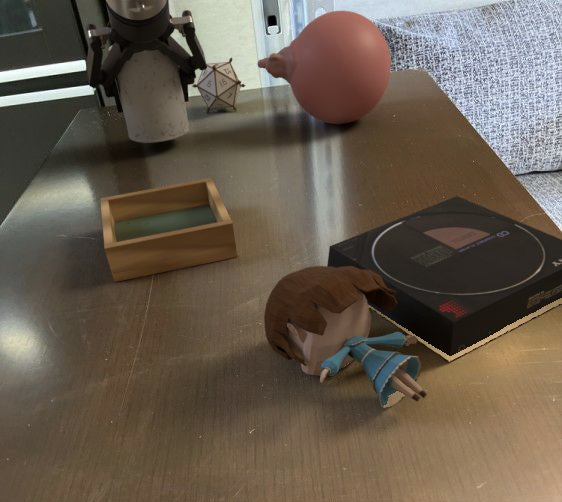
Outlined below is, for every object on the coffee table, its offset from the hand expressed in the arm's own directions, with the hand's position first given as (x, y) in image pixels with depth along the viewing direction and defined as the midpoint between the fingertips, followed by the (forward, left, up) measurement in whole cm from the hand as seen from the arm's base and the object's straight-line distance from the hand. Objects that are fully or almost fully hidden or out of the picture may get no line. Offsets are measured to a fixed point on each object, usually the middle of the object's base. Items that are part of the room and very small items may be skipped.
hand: (151, 98), depth 97 cm
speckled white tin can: (+3, 0, -4) cm, 5 cm away
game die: (-10, +12, -6) cm, 17 cm away
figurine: (+67, +8, -6) cm, 67 cm away
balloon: (+6, +26, -6) cm, 28 cm away
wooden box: (+37, -3, -6) cm, 38 cm away
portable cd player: (+58, +22, -6) cm, 62 cm away
